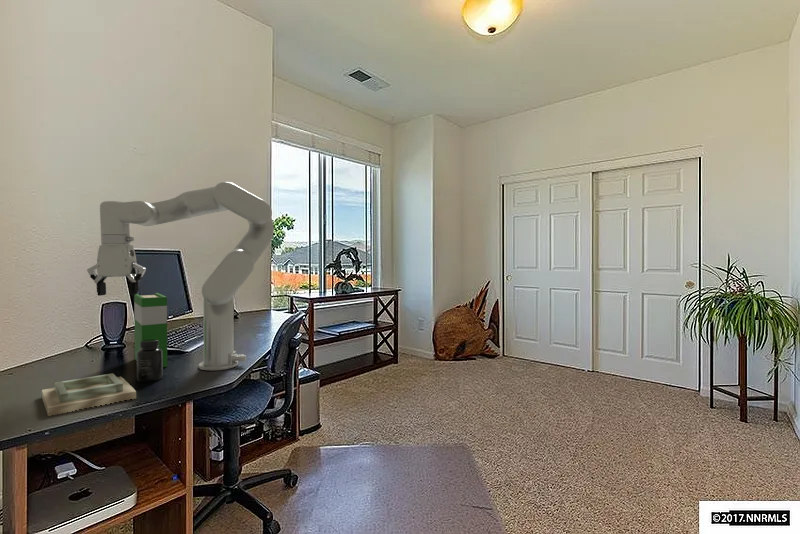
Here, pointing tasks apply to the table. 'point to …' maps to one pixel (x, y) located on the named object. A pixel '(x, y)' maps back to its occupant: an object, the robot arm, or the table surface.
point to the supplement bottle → (149, 361)
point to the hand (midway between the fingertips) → (117, 294)
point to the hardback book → (151, 321)
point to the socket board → (86, 393)
